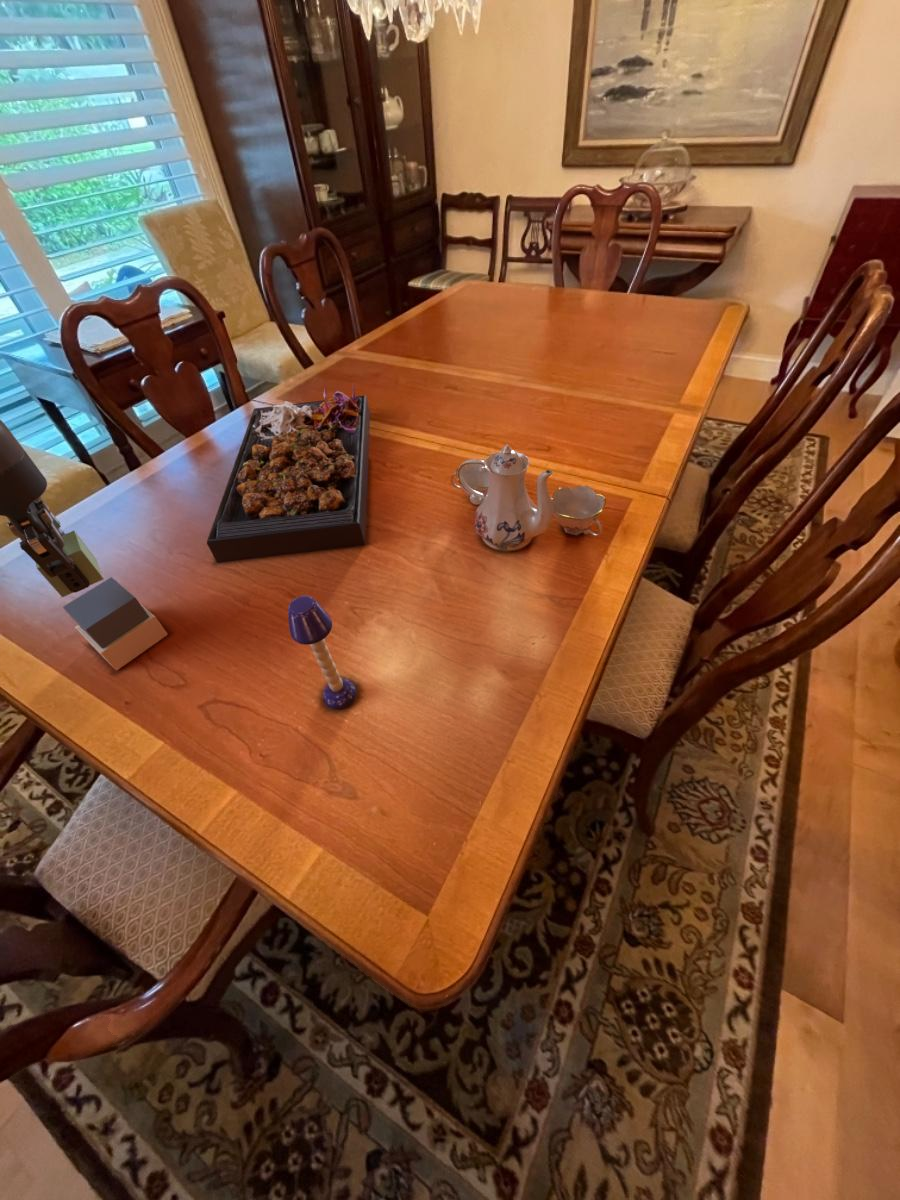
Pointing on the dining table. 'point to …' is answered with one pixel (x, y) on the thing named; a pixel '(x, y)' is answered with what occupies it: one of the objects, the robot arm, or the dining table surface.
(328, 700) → the toy lamp
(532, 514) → the chinaware
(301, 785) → the dining table surface
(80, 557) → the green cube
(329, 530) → the food platter
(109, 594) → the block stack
